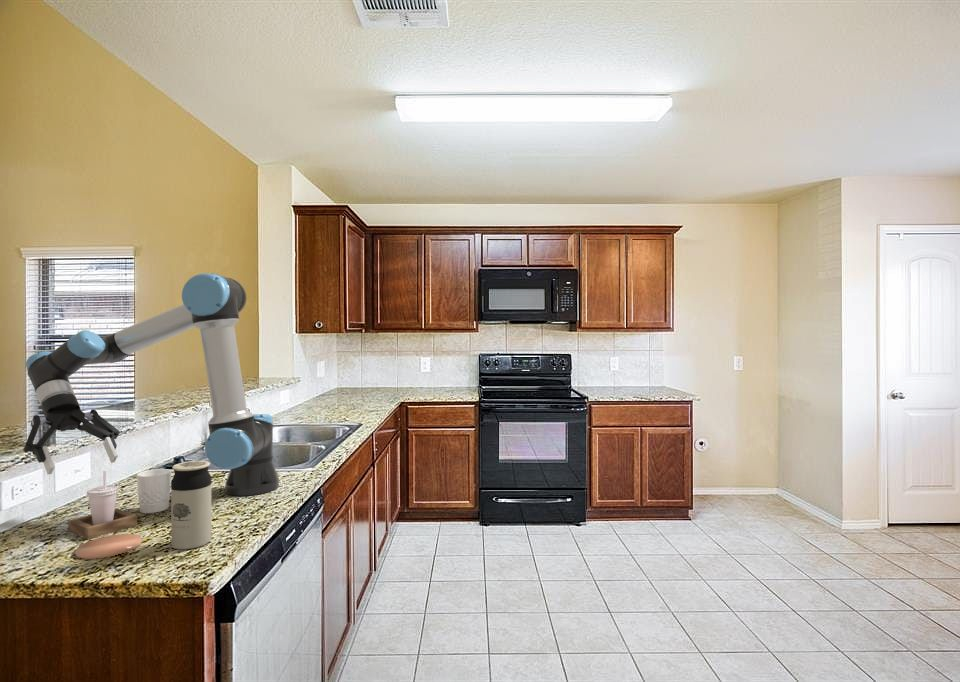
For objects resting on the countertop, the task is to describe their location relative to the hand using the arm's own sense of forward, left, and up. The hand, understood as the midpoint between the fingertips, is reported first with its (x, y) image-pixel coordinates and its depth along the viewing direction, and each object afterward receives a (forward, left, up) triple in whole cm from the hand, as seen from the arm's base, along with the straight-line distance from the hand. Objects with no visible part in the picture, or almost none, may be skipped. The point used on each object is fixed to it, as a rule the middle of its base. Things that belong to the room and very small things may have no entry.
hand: (84, 465), depth 131 cm
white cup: (-13, -8, -15) cm, 21 cm away
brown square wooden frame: (-7, +5, -14) cm, 17 cm away
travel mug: (-32, +18, -15) cm, 39 cm away
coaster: (-15, +18, -14) cm, 28 cm away
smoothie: (-7, +5, -15) cm, 17 cm away
